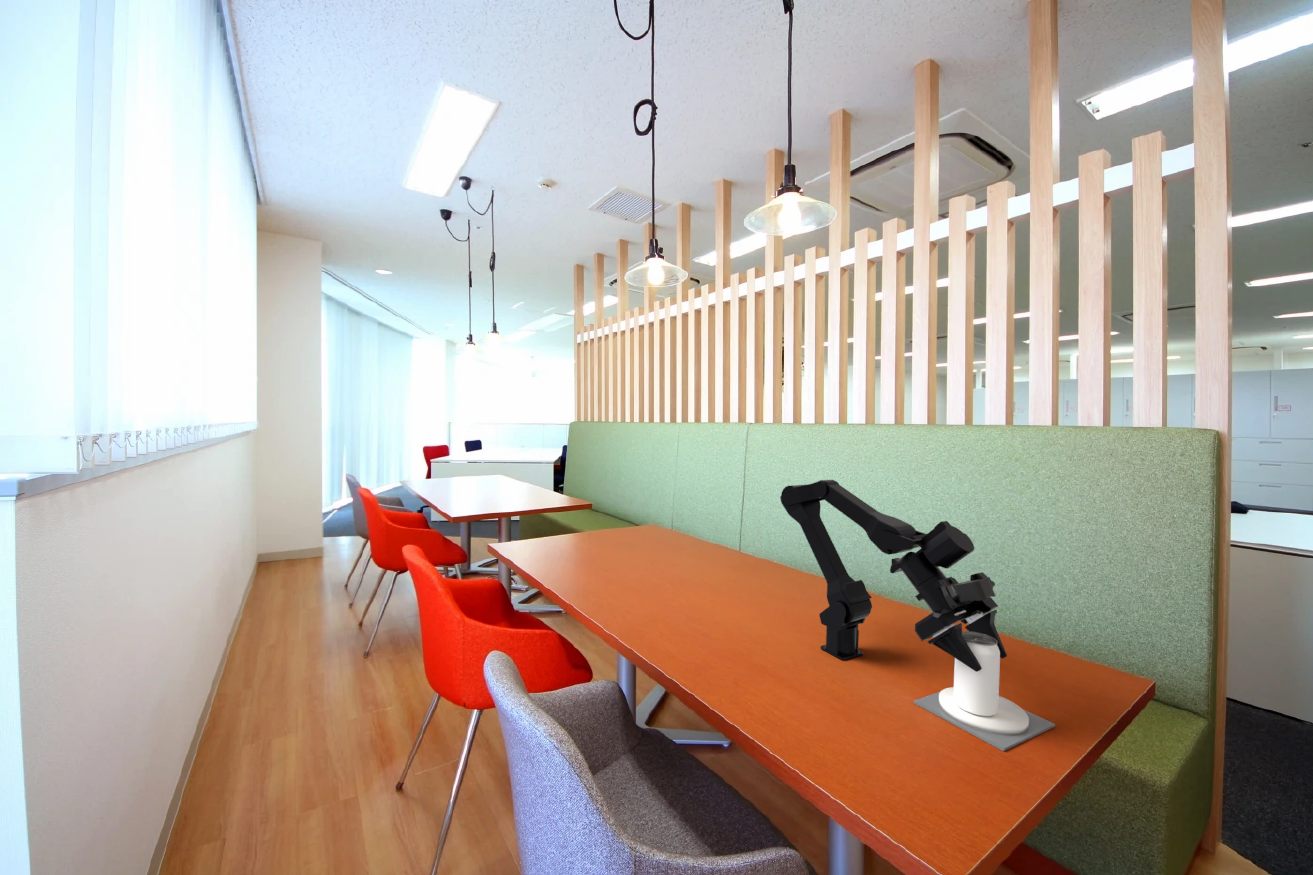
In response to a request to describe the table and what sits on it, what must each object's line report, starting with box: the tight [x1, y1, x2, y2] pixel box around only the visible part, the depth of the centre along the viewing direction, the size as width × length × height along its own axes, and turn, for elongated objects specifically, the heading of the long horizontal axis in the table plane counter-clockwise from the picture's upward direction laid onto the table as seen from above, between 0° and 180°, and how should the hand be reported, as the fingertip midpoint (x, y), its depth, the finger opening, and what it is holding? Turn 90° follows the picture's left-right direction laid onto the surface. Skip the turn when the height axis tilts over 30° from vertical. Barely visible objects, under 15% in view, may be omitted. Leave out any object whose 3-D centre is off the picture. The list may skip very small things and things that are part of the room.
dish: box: [913, 686, 1056, 752], centre depth 87 cm, size 15×15×1 cm
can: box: [953, 630, 1001, 717], centre depth 87 cm, size 6×6×12 cm
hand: (992, 663), depth 86 cm, fingers open, 9 cm apart
